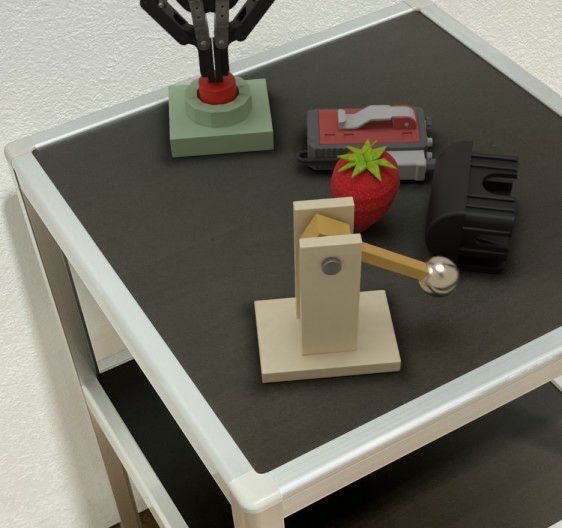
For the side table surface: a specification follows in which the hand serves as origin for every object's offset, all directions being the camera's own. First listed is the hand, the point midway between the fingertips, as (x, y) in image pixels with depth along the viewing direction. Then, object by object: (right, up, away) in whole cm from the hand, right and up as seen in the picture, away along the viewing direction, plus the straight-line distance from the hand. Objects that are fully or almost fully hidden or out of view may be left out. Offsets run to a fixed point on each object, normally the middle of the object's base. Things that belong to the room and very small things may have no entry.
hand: (215, 77), depth 94 cm
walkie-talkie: (+18, -8, +1) cm, 19 cm away
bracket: (+10, -26, -14) cm, 31 cm away
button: (0, -1, +2) cm, 2 cm away
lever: (+14, -21, -20) cm, 32 cm away
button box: (0, -4, +4) cm, 6 cm away
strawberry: (+14, -16, -6) cm, 22 cm away
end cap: (+23, -16, -7) cm, 29 cm away
